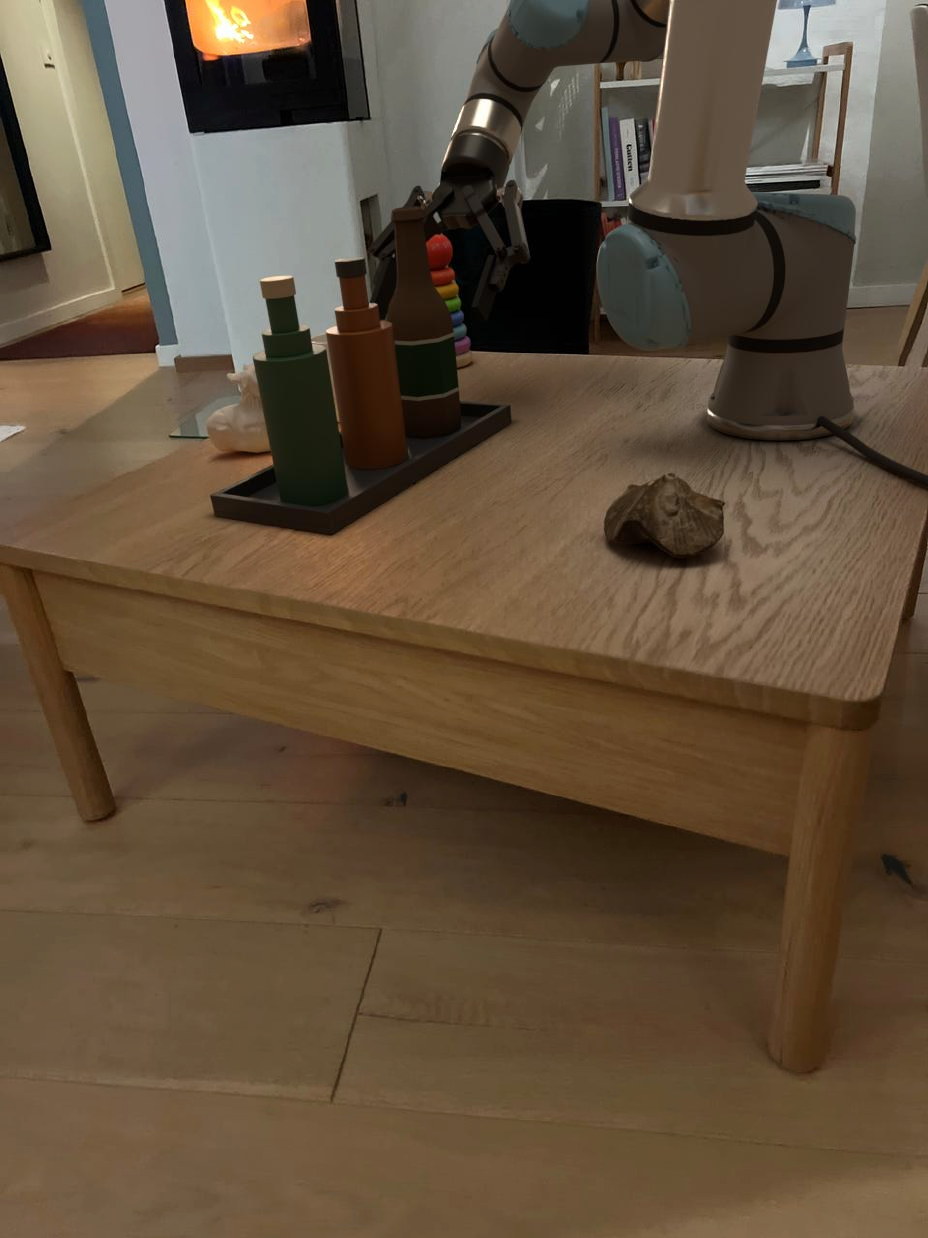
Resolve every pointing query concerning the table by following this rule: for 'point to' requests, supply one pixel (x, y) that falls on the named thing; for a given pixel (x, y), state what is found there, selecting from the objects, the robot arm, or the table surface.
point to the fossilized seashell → (666, 517)
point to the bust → (241, 418)
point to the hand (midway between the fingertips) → (426, 314)
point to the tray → (359, 478)
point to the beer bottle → (422, 336)
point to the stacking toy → (449, 293)
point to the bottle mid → (365, 375)
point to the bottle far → (298, 403)
